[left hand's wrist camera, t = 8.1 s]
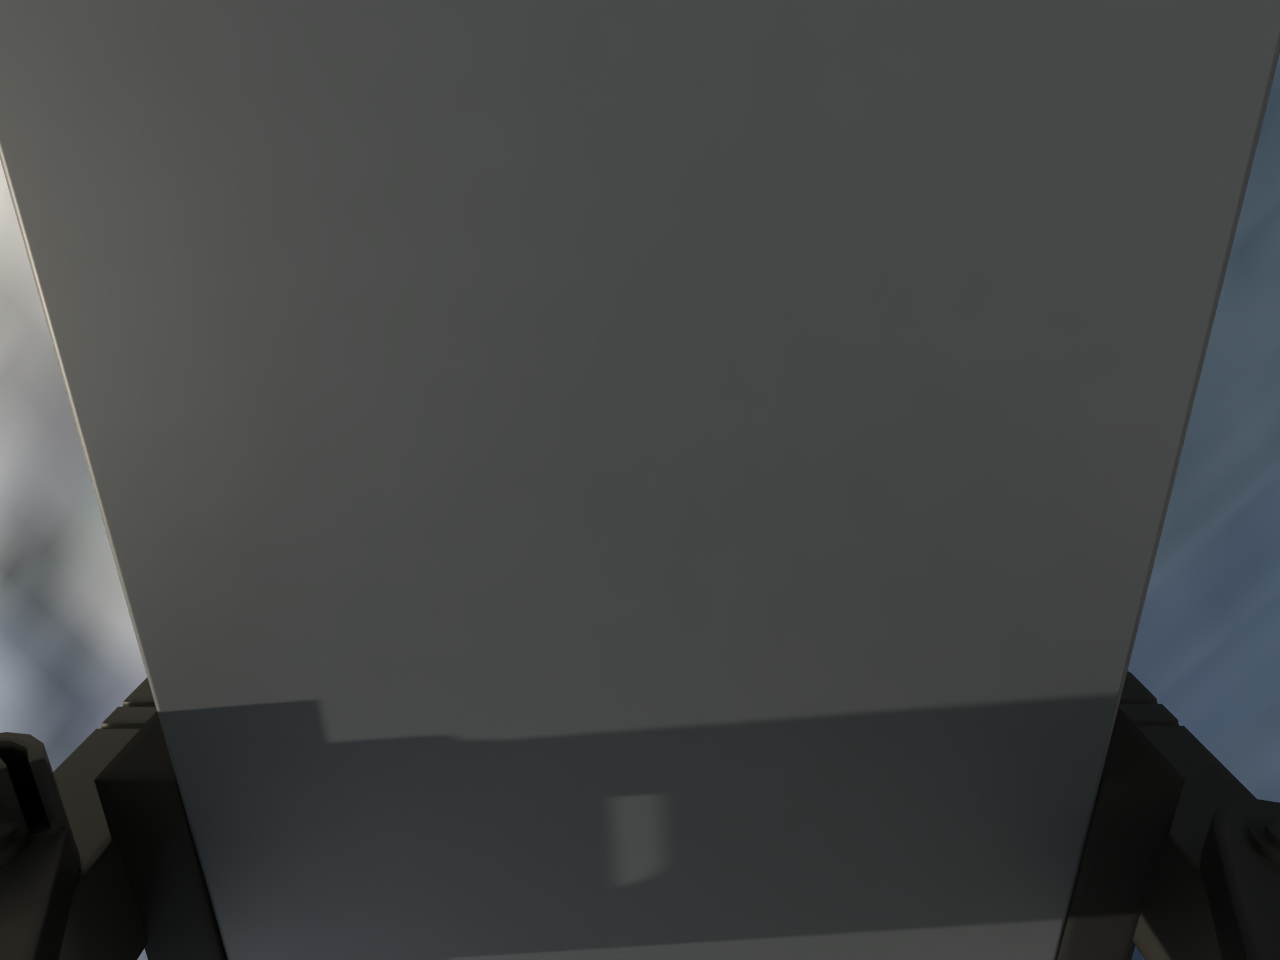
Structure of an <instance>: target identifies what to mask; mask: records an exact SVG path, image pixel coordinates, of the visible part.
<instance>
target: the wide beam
mask: <svg viewBox="0 0 1280 960" xmlns="http://www.w3.org/2000/svg"><path fill="white" fill-rule="evenodd" d="M1279 53H1280V0H0V160H1V163H2V167H3V170H4V174H5V177H6V181H7V184H8V188H9V191H10V195H11V198H12V202H13V205H14V209H15V212H16V216H17V219H18V223H19V227H20V230H21V234H22V237H23V241H24V244H25V248H26V251H27V255H28V258H29V262H30V265H31V269H32V272H33V276H34V279H35V283H36V286H37V290H38V293H39V297H40V300H41V304H42V307H43V311H44V315H45V318H46V322H47V325H48V329H49V332H50V336H51V339H52V343H53V346H54V350H55V353H56V357H57V360H58V364H59V367H60V371H61V374H62V378H63V381H64V385H65V388H66V392H67V395H68V399H69V403H70V406H71V410H72V413H73V417H74V420H75V424H76V427H77V431H78V434H79V438H80V441H81V445H82V448H83V452H84V455H85V459H86V462H87V466H88V469H89V473H90V476H91V480H92V484H93V487H94V491H95V494H96V498H97V501H98V505H99V508H100V512H101V515H102V519H103V522H104V526H105V529H106V533H107V536H108V540H109V543H110V547H111V550H112V554H113V557H114V561H115V564H116V568H117V572H118V575H119V579H120V582H121V586H122V589H123V593H124V596H125V600H126V603H127V607H128V610H129V614H130V617H131V621H132V624H133V628H134V631H135V635H136V638H137V642H138V645H139V649H140V652H141V656H142V660H143V663H144V667H145V670H146V674H147V677H148V681H149V684H150V688H151V691H152V695H153V698H154V702H155V705H156V709H157V712H158V716H159V719H160V723H161V726H162V730H163V733H164V737H165V740H166V744H167V748H168V751H169V755H170V758H171V762H172V765H173V769H174V772H175V776H176V779H177V783H178V786H179V790H180V793H181V797H182V800H183V804H184V807H185V811H186V814H187V818H188V821H189V825H190V829H191V832H192V836H193V839H194V843H195V846H196V850H197V853H198V857H199V860H200V864H201V867H202V871H203V874H204V878H205V881H206V885H207V888H208V892H209V895H210V899H211V902H212V906H213V909H214V913H215V917H216V920H217V924H218V927H219V931H220V934H221V938H222V941H223V945H224V948H225V952H226V955H227V959H228V960H1056V958H1057V954H1058V950H1059V946H1060V942H1061V938H1062V934H1063V930H1064V926H1065V921H1066V917H1067V913H1068V909H1069V905H1070V901H1071V897H1072V893H1073V889H1074V885H1075V881H1076V877H1077V873H1078V869H1079V865H1080V861H1081V857H1082V853H1083V848H1084V844H1085V840H1086V836H1087V832H1088V828H1089V824H1090V820H1091V816H1092V812H1093V808H1094V804H1095V800H1096V796H1097V792H1098V788H1099V784H1100V779H1101V775H1102V771H1103V767H1104V763H1105V759H1106V755H1107V751H1108V747H1109V743H1110V739H1111V735H1112V731H1113V727H1114V723H1115V719H1116V715H1117V711H1118V706H1119V702H1120V698H1121V694H1122V690H1123V686H1124V682H1125V678H1126V674H1127V670H1128V666H1129V662H1130V658H1131V654H1132V650H1133V646H1134V642H1135V638H1136V633H1137V629H1138V625H1139V621H1140V617H1141V613H1142V609H1143V605H1144V601H1145V597H1146V593H1147V589H1148V585H1149V581H1150V577H1151V573H1152V569H1153V564H1154V560H1155V556H1156V552H1157V548H1158V544H1159V540H1160V536H1161V532H1162V528H1163V524H1164V520H1165V516H1166V512H1167V508H1168V504H1169V500H1170V496H1171V491H1172V487H1173V483H1174V479H1175V475H1176V471H1177V467H1178V463H1179V459H1180V455H1181V451H1182V447H1183V443H1184V439H1185V435H1186V431H1187V427H1188V422H1189V418H1190V414H1191V410H1192V406H1193V402H1194V398H1195V394H1196V390H1197V386H1198V382H1199V378H1200V374H1201V370H1202V366H1203V362H1204V358H1205V354H1206V349H1207V345H1208V341H1209V337H1210V333H1211V329H1212V325H1213V321H1214V317H1215V313H1216V309H1217V305H1218V301H1219V297H1220V293H1221V289H1222V285H1223V280H1224V276H1225V272H1226V268H1227V264H1228V260H1229V256H1230V252H1231V248H1232V244H1233V240H1234V236H1235V232H1236V228H1237V224H1238V220H1239V216H1240V212H1241V207H1242V203H1243V199H1244V195H1245V191H1246V187H1247V183H1248V179H1249V175H1250V171H1251V167H1252V163H1253V159H1254V155H1255V151H1256V147H1257V143H1258V138H1259V134H1260V130H1261V126H1262V122H1263V118H1264V114H1265V110H1266V106H1267V102H1268V98H1269V94H1270V90H1271V86H1272V82H1273V78H1274V74H1275V70H1276V65H1277V61H1278V57H1279Z"/></svg>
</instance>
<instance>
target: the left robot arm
mask: <svg viewBox="0 0 1280 960" xmlns="http://www.w3.org/2000/svg"><path fill="white" fill-rule="evenodd" d="M1135 945H1136V946H1137V948H1138V949H1139V951H1140V952H1141V954H1142V955H1143V957H1144V959H1145V960H1280V803H1278V802H1271V801H1265V800H1259V799H1256V798H1255V797H1254V796H1253V795H1252V794H1251V793H1250V792H1249V791H1248V790H1247V789H1246V788H1245V787H1244V786H1243V785H1242V784H1241V783H1240V782H1239V781H1238V780H1237V779H1236V778H1235V777H1234V776H1233V775H1232V774H1231V773H1230V772H1229V771H1228V770H1227V769H1226V768H1225V767H1224V766H1223V765H1222V764H1221V763H1220V762H1219V761H1218V760H1217V759H1216V758H1215V757H1214V756H1213V755H1212V754H1211V753H1210V752H1209V751H1208V750H1207V749H1206V748H1205V747H1204V746H1203V745H1202V744H1201V743H1200V742H1199V741H1198V740H1197V739H1196V738H1195V737H1194V736H1193V735H1192V734H1191V733H1190V732H1189V731H1188V730H1187V729H1186V728H1185V727H1184V726H1179V724H1178V720H1177V719H1176V718H1175V717H1174V716H1173V715H1172V714H1171V713H1170V712H1169V711H1168V710H1167V709H1166V708H1165V707H1164V706H1163V705H1162V704H1157V699H1156V698H1155V697H1154V696H1153V695H1152V694H1151V693H1150V692H1149V691H1148V690H1147V689H1146V688H1145V687H1144V686H1143V685H1142V684H1141V683H1140V682H1139V681H1138V680H1137V679H1136V678H1135V677H1134V676H1133V675H1132V674H1131V673H1130V672H1128V671H1127V674H1126V678H1125V682H1124V686H1123V690H1122V694H1121V698H1120V702H1119V706H1118V711H1117V715H1116V719H1115V723H1114V727H1113V731H1112V735H1111V739H1110V743H1109V747H1108V751H1107V755H1106V759H1105V763H1104V767H1103V771H1102V775H1101V779H1100V784H1099V788H1098V792H1097V796H1096V800H1095V804H1094V808H1093V812H1092V816H1091V820H1090V824H1089V828H1088V832H1087V836H1086V840H1085V844H1084V848H1083V853H1082V857H1081V861H1080V865H1079V869H1078V873H1077V877H1076V881H1075V885H1074V889H1073V893H1072V897H1071V901H1070V905H1069V909H1068V913H1067V917H1066V921H1065V926H1064V930H1063V934H1062V938H1061V942H1060V946H1059V950H1058V954H1057V958H1056V960H1131V958H1132V955H1133V952H1134V948H1135ZM144 948H145V951H146V954H147V957H148V960H228V959H227V955H226V952H225V948H224V945H223V941H222V938H221V934H220V931H219V927H218V924H217V920H216V917H215V913H214V909H213V906H212V902H211V899H210V895H209V892H208V888H207V885H206V881H205V878H204V874H203V871H202V867H201V864H200V860H199V857H198V853H197V850H196V846H195V843H194V839H193V836H192V832H191V829H190V825H189V821H188V818H187V814H186V811H185V807H184V804H183V800H182V797H181V793H180V790H179V786H178V783H177V779H176V776H175V772H174V769H173V765H172V762H171V758H170V755H169V751H168V748H167V744H166V740H165V737H164V733H163V730H162V726H161V723H160V719H159V716H158V712H157V709H156V705H155V702H154V698H153V695H152V691H151V688H150V684H149V681H148V677H147V678H146V679H145V680H144V681H143V682H142V683H141V684H140V685H139V686H138V687H137V688H136V689H135V690H134V691H133V692H132V693H131V694H130V695H129V696H128V697H127V698H126V699H125V700H124V701H123V707H118V708H117V709H116V710H115V711H114V712H113V713H112V714H111V715H110V716H109V717H108V718H107V719H106V720H105V721H104V722H103V723H102V727H101V729H96V730H95V731H94V732H93V733H92V734H91V735H90V736H89V737H88V738H87V739H86V740H85V741H84V742H83V743H82V744H81V745H80V746H79V747H78V748H77V749H76V750H75V751H74V752H73V753H72V754H71V755H70V756H69V757H68V758H67V759H66V760H65V761H64V762H63V763H62V764H61V765H60V766H59V767H58V768H57V769H56V770H55V771H54V772H52V768H51V765H50V762H49V759H48V756H47V753H46V750H45V747H44V744H43V743H42V742H40V741H39V740H37V739H36V738H34V737H33V736H31V735H29V734H19V733H10V732H5V733H0V960H137V959H138V957H139V956H140V954H141V953H142V951H143V949H144Z"/></svg>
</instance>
